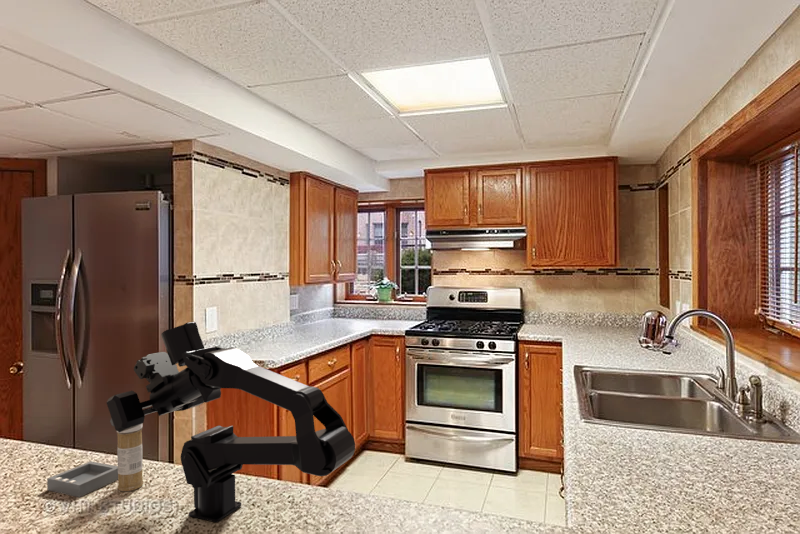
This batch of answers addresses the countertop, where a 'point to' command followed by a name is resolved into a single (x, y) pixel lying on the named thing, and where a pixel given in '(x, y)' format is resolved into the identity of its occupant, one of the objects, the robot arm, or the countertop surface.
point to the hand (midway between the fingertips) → (133, 415)
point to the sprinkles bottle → (130, 459)
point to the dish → (83, 479)
